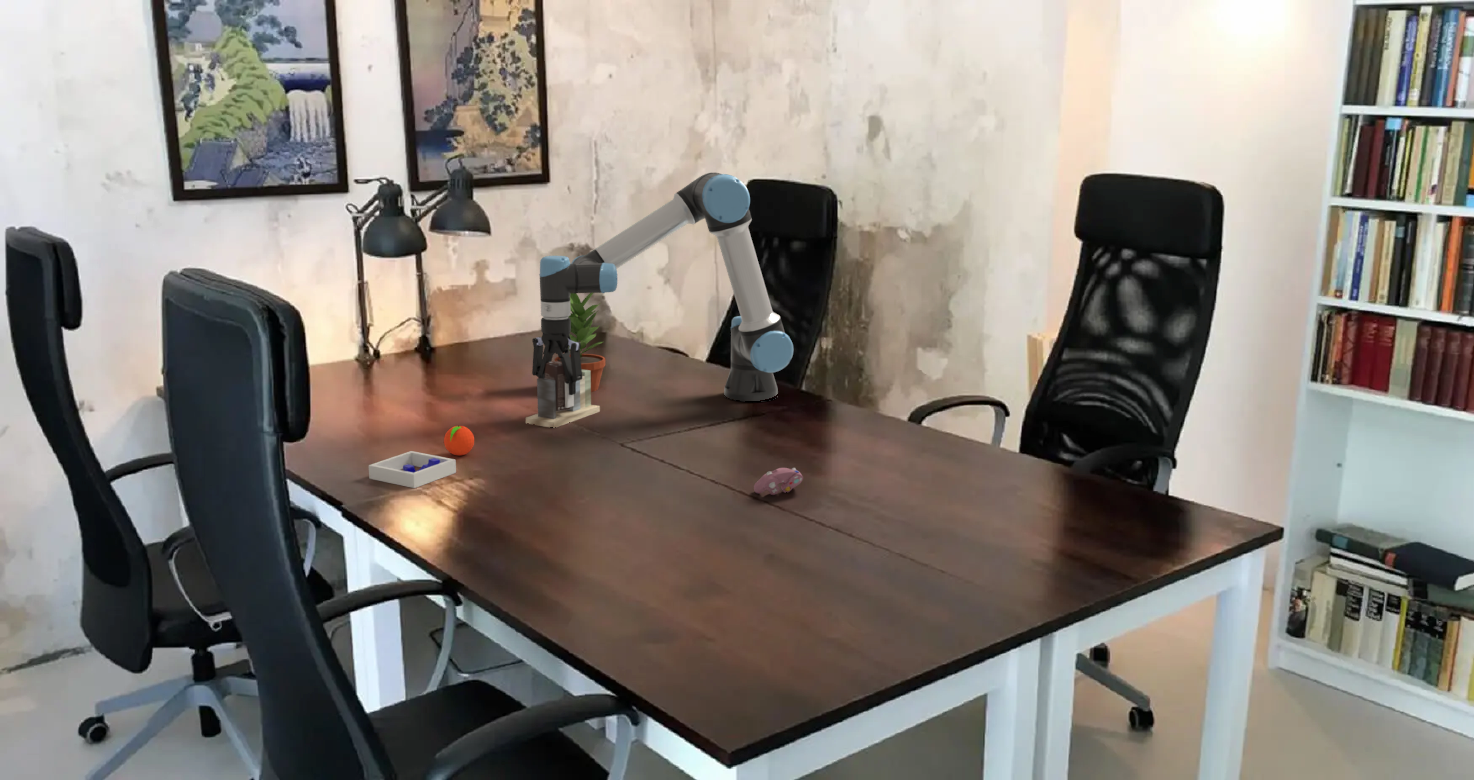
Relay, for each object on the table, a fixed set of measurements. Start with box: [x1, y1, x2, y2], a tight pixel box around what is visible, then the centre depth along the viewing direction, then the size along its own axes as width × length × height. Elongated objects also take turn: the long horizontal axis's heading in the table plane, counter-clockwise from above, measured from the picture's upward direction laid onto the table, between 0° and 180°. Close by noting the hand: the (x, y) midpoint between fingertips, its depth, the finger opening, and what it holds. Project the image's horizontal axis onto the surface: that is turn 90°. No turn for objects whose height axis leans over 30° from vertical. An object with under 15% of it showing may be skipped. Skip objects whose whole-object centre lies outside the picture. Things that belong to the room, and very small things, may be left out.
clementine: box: [443, 425, 475, 457], centre depth 277 cm, size 8×7×7 cm
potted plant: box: [554, 293, 606, 393], centre depth 342 cm, size 15×15×30 cm
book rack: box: [525, 369, 601, 429], centre depth 312 cm, size 9×20×12 cm, turn 151°
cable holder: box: [402, 458, 440, 473], centre depth 260 cm, size 8×4×4 cm, turn 139°
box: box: [545, 360, 570, 412], centre depth 309 cm, size 6×4×12 cm
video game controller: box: [753, 467, 804, 496], centre depth 254 cm, size 10×5×7 cm, turn 119°
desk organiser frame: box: [368, 450, 457, 489], centre depth 262 cm, size 13×13×3 cm
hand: (557, 404), depth 310 cm, fingers closed on box, 7 cm apart
